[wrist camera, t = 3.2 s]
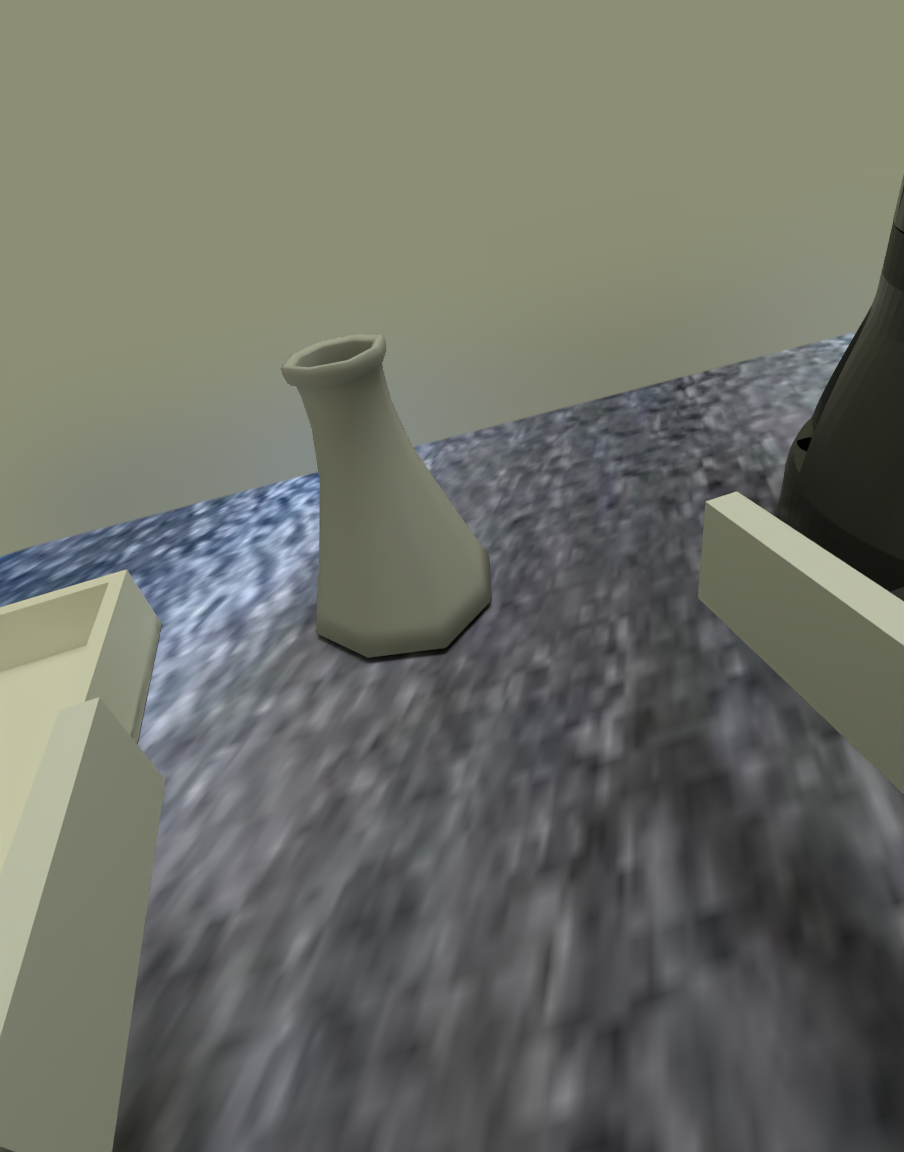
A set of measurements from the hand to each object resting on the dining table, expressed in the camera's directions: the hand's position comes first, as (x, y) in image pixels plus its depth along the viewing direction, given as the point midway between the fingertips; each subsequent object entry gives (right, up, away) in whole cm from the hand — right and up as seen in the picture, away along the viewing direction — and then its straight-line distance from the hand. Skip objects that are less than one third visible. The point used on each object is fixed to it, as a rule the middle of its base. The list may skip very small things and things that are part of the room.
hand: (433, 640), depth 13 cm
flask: (-1, 0, +11) cm, 11 cm away
